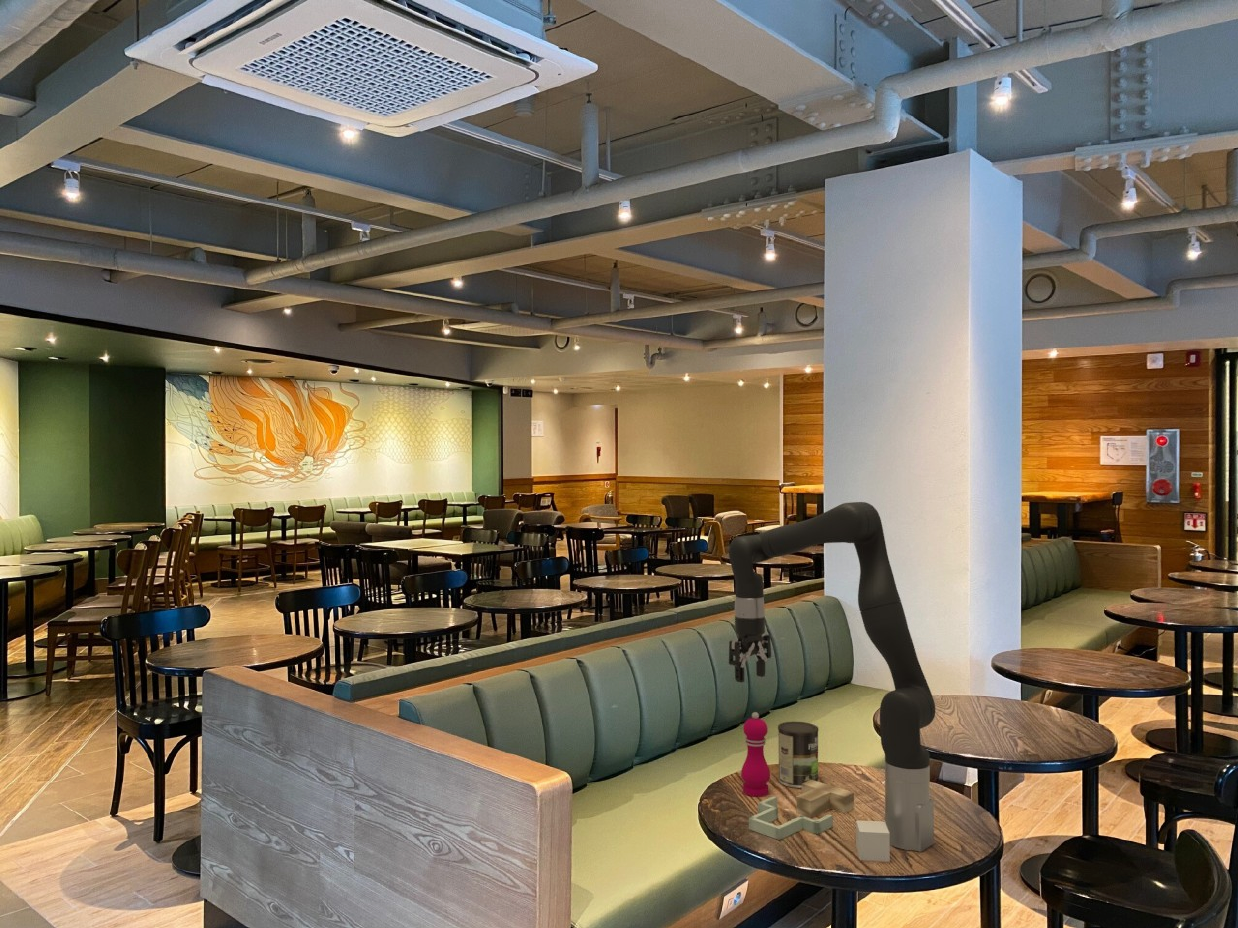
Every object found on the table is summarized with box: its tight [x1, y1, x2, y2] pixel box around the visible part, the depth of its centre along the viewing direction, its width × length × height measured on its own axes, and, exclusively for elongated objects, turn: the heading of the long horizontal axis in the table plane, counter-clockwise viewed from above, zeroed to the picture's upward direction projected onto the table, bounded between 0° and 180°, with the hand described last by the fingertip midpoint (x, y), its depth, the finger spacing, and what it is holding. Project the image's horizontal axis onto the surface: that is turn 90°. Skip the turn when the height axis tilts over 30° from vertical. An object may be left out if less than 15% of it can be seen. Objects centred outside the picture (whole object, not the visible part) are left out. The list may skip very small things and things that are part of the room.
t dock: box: [748, 795, 834, 841], centre depth 201 cm, size 16×15×2 cm
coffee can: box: [777, 721, 819, 789], centre depth 229 cm, size 10×10×14 cm
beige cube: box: [855, 819, 891, 863], centre depth 186 cm, size 6×6×6 cm
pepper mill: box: [740, 711, 771, 797], centre depth 222 cm, size 7×7×20 cm
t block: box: [795, 780, 855, 819], centre depth 211 cm, size 12×12×4 cm
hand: (750, 678), depth 224 cm, fingers open, 8 cm apart
